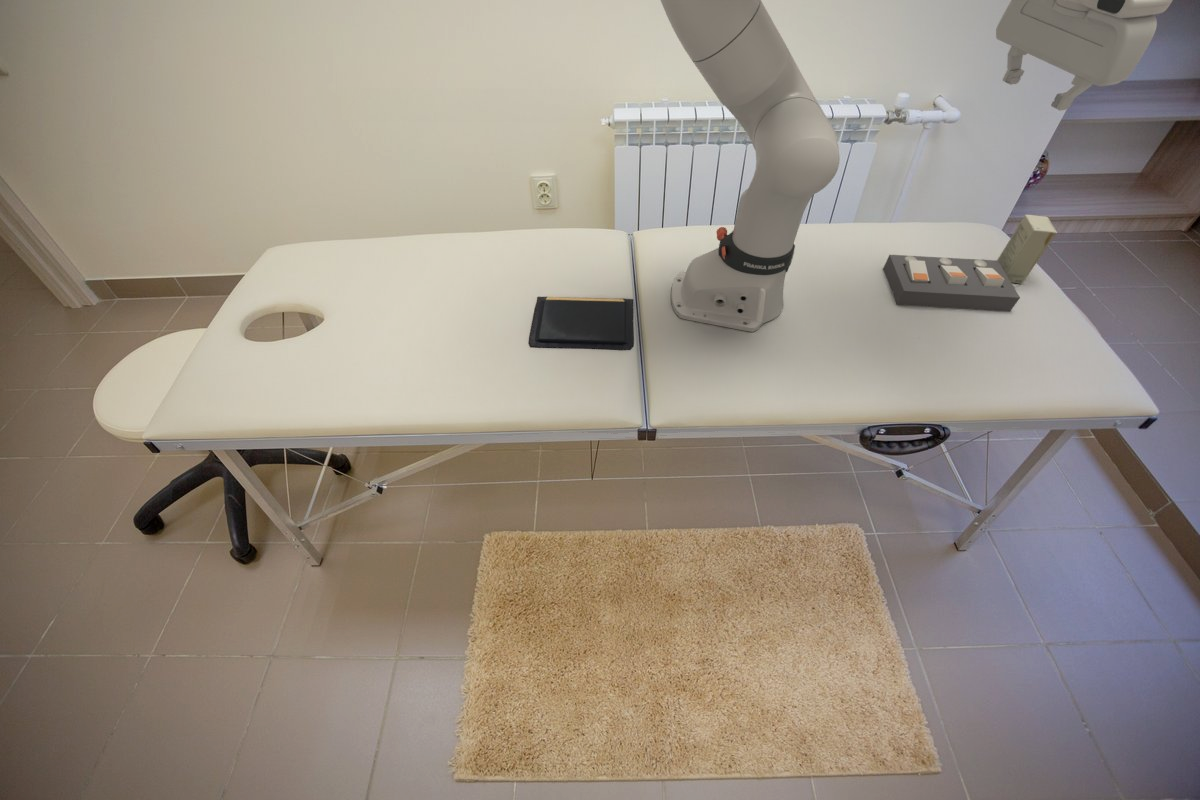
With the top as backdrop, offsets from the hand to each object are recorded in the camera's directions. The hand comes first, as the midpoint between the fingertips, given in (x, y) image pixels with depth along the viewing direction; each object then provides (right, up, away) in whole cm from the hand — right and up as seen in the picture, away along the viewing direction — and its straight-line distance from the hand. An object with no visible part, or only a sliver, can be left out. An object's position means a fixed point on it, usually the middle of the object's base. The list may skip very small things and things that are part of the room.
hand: (1033, 95), depth 83 cm
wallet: (-67, -30, +28) cm, 78 cm away
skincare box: (+23, -18, +38) cm, 48 cm away
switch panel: (+8, -22, +34) cm, 41 cm away
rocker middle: (+8, -19, +32) cm, 38 cm away
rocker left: (+1, -19, +32) cm, 37 cm away
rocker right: (+15, -20, +31) cm, 40 cm away
